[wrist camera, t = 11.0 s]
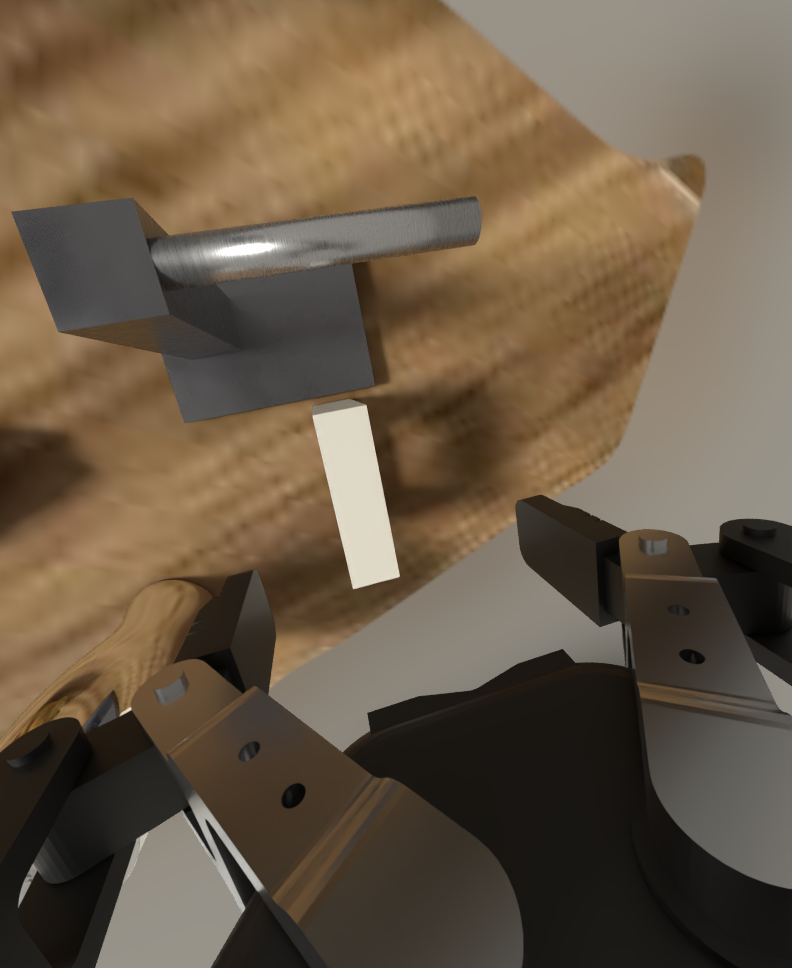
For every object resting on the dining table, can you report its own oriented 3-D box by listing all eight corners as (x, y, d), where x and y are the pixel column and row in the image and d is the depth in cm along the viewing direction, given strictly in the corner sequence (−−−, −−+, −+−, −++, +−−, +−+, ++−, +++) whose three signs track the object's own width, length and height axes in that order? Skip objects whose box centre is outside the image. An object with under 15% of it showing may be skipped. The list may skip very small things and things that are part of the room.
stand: (132, 247, 23) (-127, 50, 9) (380, 214, 25) (459, 14, 11) (189, 421, 25) (52, 462, 12) (408, 378, 27) (498, 372, 14)
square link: (312, 405, 27) (312, 415, 18) (349, 398, 27) (366, 405, 18) (341, 529, 29) (353, 589, 21) (374, 521, 29) (400, 576, 21)
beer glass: (95, 618, 27) (-146, 877, 13) (175, 553, 27) (22, 740, 13) (175, 678, 29) (43, 958, 15) (248, 618, 29) (187, 840, 15)
